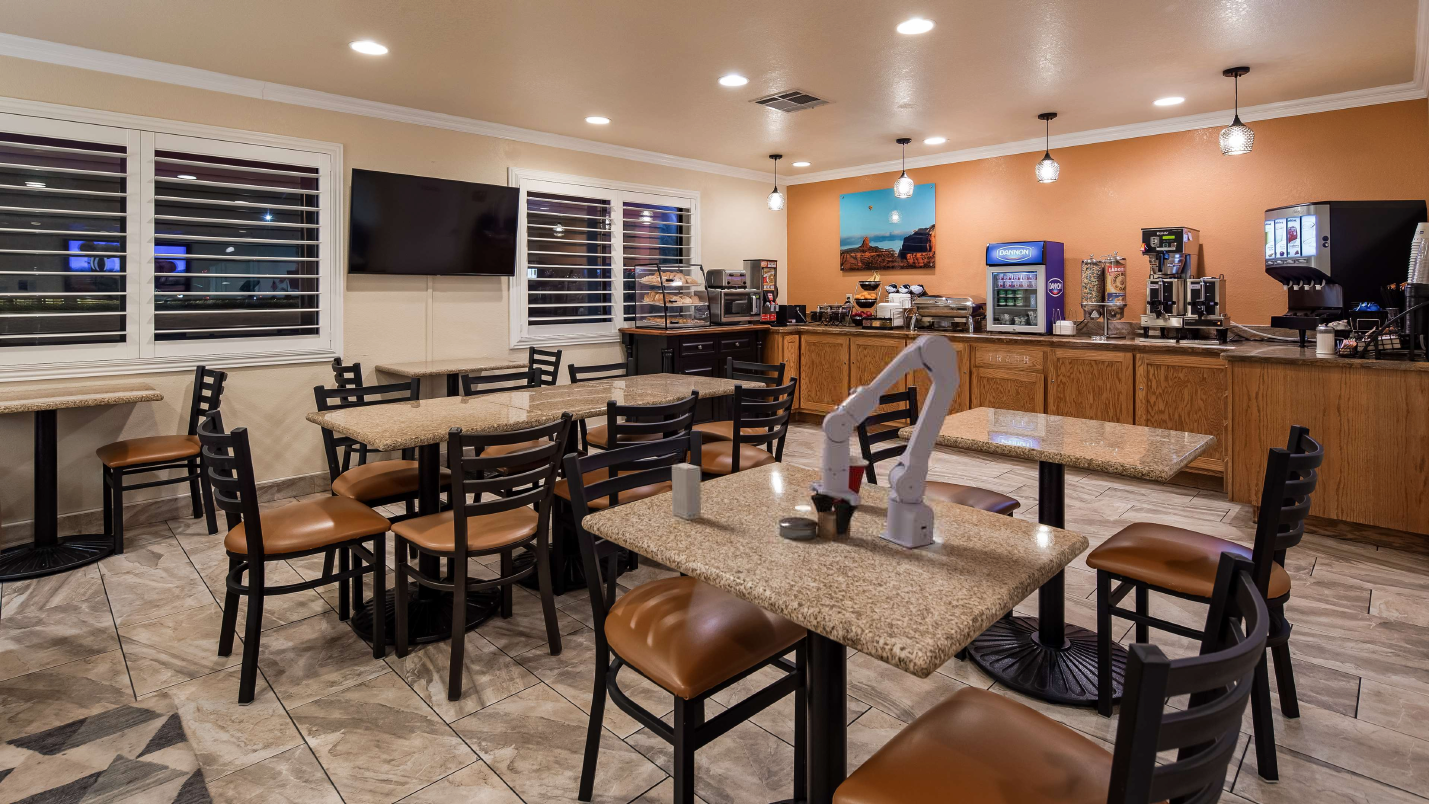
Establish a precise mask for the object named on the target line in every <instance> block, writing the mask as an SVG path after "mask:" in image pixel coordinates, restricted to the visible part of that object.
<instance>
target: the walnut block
mask: <svg viewBox="0 0 1429 804" xmlns="http://www.w3.org/2000/svg"><path fill="white" fill-rule="evenodd" d="M851 522H852V519H851V520H850V523H849V526H848V529H847V532H846V534H841V535H839V534H837V530H836V515H835V510H834V509H832V511H826V512H819V513H818V514H817V523H818V526H817V533H816V536H818V537H821V538H822V539H826V540H828V541H830V542H836V541H843V540H847V539H850V538H851V524H852V523H851Z"/></svg>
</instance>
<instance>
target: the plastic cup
mask: <svg viewBox="0 0 1429 804" xmlns="http://www.w3.org/2000/svg"><path fill="white" fill-rule="evenodd" d="M869 463H870V462H869V461H868V460H867V459H865V458H864V459H863V458H860V457H857V456H851V455H850V462H849V485H848V489H850V490H852V491H853V492H855V493H856V494H858V495H859V494H860V490H861V486H862V483H863V477H864V474H865V470H866V468H867V466H868V465H870V464H869ZM839 501H840V499H837V498H835V500H834V502H839Z"/></svg>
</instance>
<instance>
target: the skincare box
mask: <svg viewBox="0 0 1429 804" xmlns="http://www.w3.org/2000/svg"><path fill="white" fill-rule="evenodd" d="M701 483H702V482H701V466H697V465H693V464H689V463H686V462H683V463H676V464H673V465H671V485H672V488H671V489H672V491H671V493H672V494H671V495H672V515H674V516H676V517H679V518H681V519H684V520H687V521H688V520H695V519H700V518H701V517H702V505H701V503H702V502H701V501H702V500H701V499H702V498H701V496H702V495H701V494H702V491H701V487H702V485H701Z"/></svg>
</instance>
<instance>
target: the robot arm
mask: <svg viewBox="0 0 1429 804" xmlns="http://www.w3.org/2000/svg"><path fill="white" fill-rule="evenodd" d="M957 354H958V353H957V351H956V349H955V347H954V346H953V344H952V343H951V341H950V340H949V339H948V338H947V337H945V336H942V335H940V334H939V335H938V334H937V335H934V334H930V333H925V334H922V335H920V336H919V335H918V337H917V338H915V340H914V342H913V343H909V345H908V344H907V346H906V347H905V348H904V349H902V350H901V352H900V353H899V354H898V355H897V356H896V357H894V358H893V360H892V361H891V362H890V363H889V364H888V365H887V366H886V367H885V368H884V369H883V370H882V371H880V373H879V374H878V375H877V377H876V378H874V380H872V382H871V383H870V384H869V385H859V386H858V387H857V388H855V387H853V388H852V389H850V390H849V393H850V395H849V396H848V397H847V398H845V400H844V401H843V402H841V403H840V405H839V406H838V405H837V404H836V405H835V406H834V407H833V410H834V411H833V412H829V413H828V414H826V416H825V417H824V419H823V423H822V424H821V428H822V431H823V433H824V437H823V447H822V461H821V467H822V468H821V481H810V482H809V491H810V492H815V494H811V495H810V499H811V502H813V505H814V507H815V510H816V513H817V515H818V513H819V512H826V511H832V510H835V515H836V530H837V534H839V535H841V534H846V532H847V529H848V526H849V523H850V520H851V521H852V518H853V515H854V513H855V512H856V510H857V509H858V508H859V506H860V505H862V495H860V494H859V493H858V494H856V493H855V492H853V491H852V490H850V489H848V485H849V462H850V456H851V447H850V442H851V441H850V439H851V437H852V436H853V434H854V430H855V429H854V428H855V427H858V426H859V425H860V424H861V423H862V422H864V421H865V419H866V418H868V417H869V416H870V414H872V413H873V412H874V411H875V410H876V408H878V407H879V406H880V397H881V396H882V395H883V394H885V392H886V391H887V390H888V389H890V388H891V387H892V386H893V385H894V384H895V383H897V382H898V381H899V380H900V379H901V378H902V377H903V376H905V374H907V373H908V372H910V371H914V370H919V369H924V368H925V370H926V373H927V374H928V376H929V378H930V379H931V381H932V384H931V386H930V388H929V392H928V393H927V396H926V398H925V400H924V404H923V406H922V408H921V411H920V414H919V417H918V418H917V421H916V423H915V426H914V429H913V431H912V434H911V436H910V439H909V441H908V444H907V445H906V446H907V447H906V449H905V451H904V452H903V453H902V454H901V455H900V456H899V460H898V461H897V462H896V464H895V465H894V466H892V468H891V469H890V470H889V471H888V476H887V479H888V480H887V481H888V484H889V485H890V488H892V489H891V490H890V492H889V494H888V495H887V496H888V498H887V500H888V501H887V515H886V516H887V518H886V519H887V520H886V532H882V533H877V536H878V537H879V538H882V539H885V540H887V541H890V542H892V543H894V544H898V545H899V546H902V547H905V548H909V549H910V548H916V547H921V545H922V546H926V545H931V544H930V543H932V544H935V543H936V540H935V539H934V527H935V526H934V525H935V523H934V522H935V512H934V510H933V507H931V506H930V505H928V504H926V502H925V501H924V494H925V493H926V491H927V483H926V480H927V475H928V473H929V459H930V458H931V455H932V452H933V450H934V447H935V445H936V442H937V440H938V437H939V435H940V432H941V430H942V428H943V425H944V423H945V420H946V418H947V415H948V413H949V410H950V408H951V405H952V402H953V400H954V398H955V395H956V393H957V390H958V388H959V386H960V374H959V368H958V362H957ZM835 498H837V499H840V501H839V502H834V500H835Z"/></svg>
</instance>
